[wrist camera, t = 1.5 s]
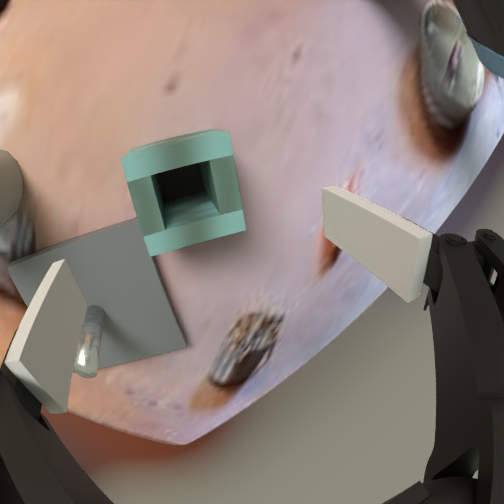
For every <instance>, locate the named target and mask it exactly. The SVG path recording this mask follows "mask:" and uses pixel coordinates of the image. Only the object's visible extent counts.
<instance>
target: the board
mask: <svg viewBox="0 0 504 504" xmlns="http://www.w3.org/2000/svg"><path fill="white" fill-rule="evenodd" d="M63 259H65V260H66V262H67V264H68V266H69V269H70V271H71V273H72V275H73V277H74V279H75V281H76V283H77V285H78V287H79V289H80V291H81V293H82V295H83V297H84V299H85V301H86V303H87V308H88V307H89V306H91V305H97V306H100V307H101V308H102V309H103V310H104V311H105V319H104V325H103V331H102V338H101V345H100V352H99V360H98V369H99V368H104V367H109V366H113V365H118V364H123V363H127V362H131V361H136V360H140V359H144V358H148V357H152V356H157V355H161V354H164V353H168V352H172V351H176V350H180V349H183V348H187V344H186V339H185V337H184V335H183V332H182V330H181V327H180V325H179V323H178V320H177V318H176V315H175V313H174V310H173V308H172V305H171V303H170V300H169V298H168V295H167V293H166V290H165V287H164V285H163V282H162V279H161V277H160V274H159V271H158V268H157V265H156V263H155V260H154V257H153V256H151V257H150V255H149V252H148V249H147V246H146V243H145V240H144V237H143V234H142V231H141V228H140V225H139V222H138V218H134V219H130V220H127V221H124V222H121V223H118V224H114V225H111V226H108V227H105V228H102V229H99V230H96V231H93V232H90V233H87V234H84V235H81V236H78V237H75V238H73V239H70V240H67V241H64V242H61V243H59V244H56V245H53V246H51V247H48V248H45V249H43V250H40V251H37V252H35V253H32V254H30V255H27V256H25V257H22V258H20V259H17V260H15V261H12V262H11V263H10V264H9V265H8V267H7V270H8V272H9V274H10V276H11V278H12V280H13V282H14V284H15V286H16V287H17V289H18V291H19V293H20V295H21V296H22V298H23V300H24V302H25V303H26V305H27V307H29V305H30V303H31V301H32V299H33V297H34V295H35V294H36V292H37V290H38V288H39V286H40V284H41V283H42V281H43V279H44V277H45V275H46V274H47V272H48V270H49V269H50V267H51V265H52V264H53V263H54V262H57V261H60V260H63ZM87 308H86V311H87ZM85 314H86V312H85ZM84 318H85V316H84ZM83 322H84V320H83ZM82 326H83V324H82ZM81 330H82V328H81ZM80 334H81V332H80ZM79 339H80V337H79ZM78 343H79V341H78ZM77 348H78V346H77ZM76 352H77V350H76ZM75 357H76V355H75ZM74 363H75V361H74ZM72 372H73V373H76V372H75V370H74V366H73V371H72Z"/></svg>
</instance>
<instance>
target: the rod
mask: <svg viewBox="0 0 504 504" xmlns="http://www.w3.org/2000/svg"><path fill="white" fill-rule="evenodd" d="M104 319H105V311H104V310H103V309H102V308H101V307H100V306H97V305H91V306H89V307H88V308H87V311H86V314H85V318H84V322H83V326H82V330H81V334H80V339H79V343H78V348H77V352H76V357H75V363H74V370H75V372H76V373H77V374H78V375H80V376H82V377H84V378H93V377H95V376H96V375H97V369H98V360H99V352H100V345H101V338H102V331H103V325H104Z"/></svg>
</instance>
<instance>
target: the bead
mask: <svg viewBox="0 0 504 504" xmlns="http://www.w3.org/2000/svg"><path fill="white" fill-rule="evenodd" d="M121 161H122V165H123V169H124V173H125V177H126V180H127V184H128V188H129V191H130V195H131V198H132V202H133V205H134V209H135V212H136V215H137V218H138V222H139V225H140V228H141V231H142V234H143V237H144V240H145V243H146V246H147V249H148V252H149V255H150V257H151V256H155V255H158V254H162V253H165V252H169V251H172V250H176V249H179V248H183V247H186V246H190V245H193V244H197V243H201V242H204V241H208V240H211V239H215V238H219V237H222V236H226V235H230V234H233V233H237V232H241V231H245V230H246V227H245V221H244V215H243V209H242V203H241V197H240V191H239V185H238V179H237V173H236V168H235V162H234V156H233V150H232V144H231V138H230V132H229V131H222V130H215V129H209V130H204V131H199V132H195V133H190V134H186V135H182V136H178V137H174V138H170V139H166V140H162V141H158V142H155V143H151V144H147V145H144V146H140V147H137V148H134V149H132V150H130V151H129V152H128V153H127V154H126V155H125V156H124V157H122V158H121ZM195 163H199V164H200V169H201V174H202V179H203V184H204V188H205V191H203V192H199V193H195V194H191V195H187V196H183V197H180V198H176V199H172V200H169V201H165V202H164V201H163V197H162V193H161V189H160V185H159V181H158V177H157V173H161V172H164V171H168V170H172V169H175V168H179V167H183V166H187V165H191V164H195Z"/></svg>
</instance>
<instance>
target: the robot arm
mask: <svg viewBox="0 0 504 504" xmlns="http://www.w3.org/2000/svg"><path fill="white" fill-rule="evenodd" d="M452 1H453V2H454V4H455V6H456V8H457V10H458V12H459V15H460V17H461V19H462V21H463V23H464V25H465V28H466V30H467V32H466V33H467V36H468V37H469V39H470V40H471V42H472V44H473V46H474V48H475V51H476V53H477V56H478V58H479V60H480V61H481V63H482V64H483V65H484V66H485V67H486V68H487V69H488V70H489V71H491V72H492V73H494V74H496V75H497V76H499V77H501V78H503V79H504V0H452ZM322 201H323V222H324V236H325V237H326V238H327V239H329V240H330V241H331V242H333V243H334V244H335V245H337V246H338V247H339V248H340V249H342V250H343V251H344V252H346V253H347V254H348V255H349V256H351V257H352V258H353V259H355V260H356V261H357V262H358V263H360V264H361V265H362V266H363V267H365V268H366V269H367V270H368V271H370V272H371V273H372V274H373V275H375V276H376V277H377V278H378V279H380V280H381V281H382V282H383V283H385V284H386V285H387V286H388V287H389V288H391V289H392V290H393V291H394V292H396V293H397V294H398V295H399V296H400V297H401V298H403V299H404V300H405V301H406V302H407V303H409V302H410V301H412V300H414V299H416V298H418V297H419V296H420V295H421V291H422V287H423V283H424V284H426V285H427V286H429V290H428V294H427V298H426V302H425V305H424V310H426V308H427V306H428V305H429V308H430V315H431V323H432V331H433V341H434V352H435V369H436V429H435V430H436V431H435V443H434V448H433V451H432V454H431V456H430V458H429V461H428V463H427V466H426V470H425V475H424V482H423V483H421V482H420V481H419V482H417V483H415V484H414V485H412V486H411V487H409V488H408V489H406V490H404V491H403V492H401V493H400V494H398V495H396V496H394V497H393V498H391V499H389V500H388V501H386V502H384V503H383V504H504V240H503V239H502V238H501V237H500V236H499V235H498V234H497V233H495V232H493V231H492V230H489V229H479V230H477V231H476V236H475V241H472V242H468V241H467V240H466V239H465V238H463V237H461V236H459V235H456V234H443V235H441V236H440V237H439V236H437V235H435V234H433V233H432V232H430V231H428V230H426V229H424V228H423V227H421V226H418V225H417V224H415V223H413V222H411V221H409V220H407V219H405V218H404V217H401V216H399V215H397V214H395V213H393V212H391V211H389V210H387V209H385V208H383V207H381V206H379V205H376V204H374V203H372V202H370V201H368V200H366V199H364V198H362V197H359V196H357V195H355V194H353V193H351V192H348V191H346V190H344V189H342V188H339V187H337V186H335V185H332V186H328V187H323V188H322ZM494 269H495V270H496V272H497V277H496V281H495V283H494V285H493V284H492V283H491V282H490V281H491V278H492V275H493V271H494ZM86 308H87V303H86V301H85V299H84V297H83V295H82V293H81V291H80V289H79V287H78V285H77V283H76V281H75V279H74V277H73V275H72V273H71V271H70V269H69V266H68V264H67V262H66V260H65V259H63V260H60V261H57V262H54V263H53V264H52V265H51V267H50V269H49V270H48V272H47V274H46V275H45V277H44V279H43V281H42V283H41V284H40V286H39V288H38V290H37V292H36V294H35V295H34V297H33V299H32V301H31V303H30V305H29V307H28V309H27V311H26V313H25V315H24V317H23V319H22V321H21V324H20V326H19V327H18V329H17V330H16V331H15V333H14V336H13V338H12V341H11V343H10V345H9V349H8V350H7V352H6V355H5V357H4V360H3V363H2V365H1V368H0V504H114V503H113V502H112V501H111V500H110V499H109V498H108V497H107V496H106V495H105V494H104V493H103V492H102V491H101V490H100V489H99V488H98V486H97V485H96V484H95V483H94V482H93V481H92V480H91V479H90V477H88V475H87V474H86V473H85V471H84V470H83V469H82V468H81V467H80V465H79V464H78V463H77V462H76V460H75V459H74V458H73V456H72V455H71V454H70V452H69V451H68V450H67V448H66V447H65V446H64V444H63V443H62V441H61V440H60V438H59V437H58V435H57V434H56V432H55V431H54V429H53V428H52V426H51V425H50V423H49V422H48V420H47V418H46V417H45V416H44V415H43V414H42V413H41V406H42V405H43V406H44V407H45V408H46V409H47V410H48V411H49V412H50V413H51V414H55V413H65V412H67V405H68V397H69V390H70V384H71V377H72V371H73V366H74V361H75V355H76V350H77V346H78V341H79V337H80V332H81V328H82V324H83V320H84V316H85V312H86ZM477 470H478V479H474V478H472V477H473V475H474V473H475V472H476V471H477Z"/></svg>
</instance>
